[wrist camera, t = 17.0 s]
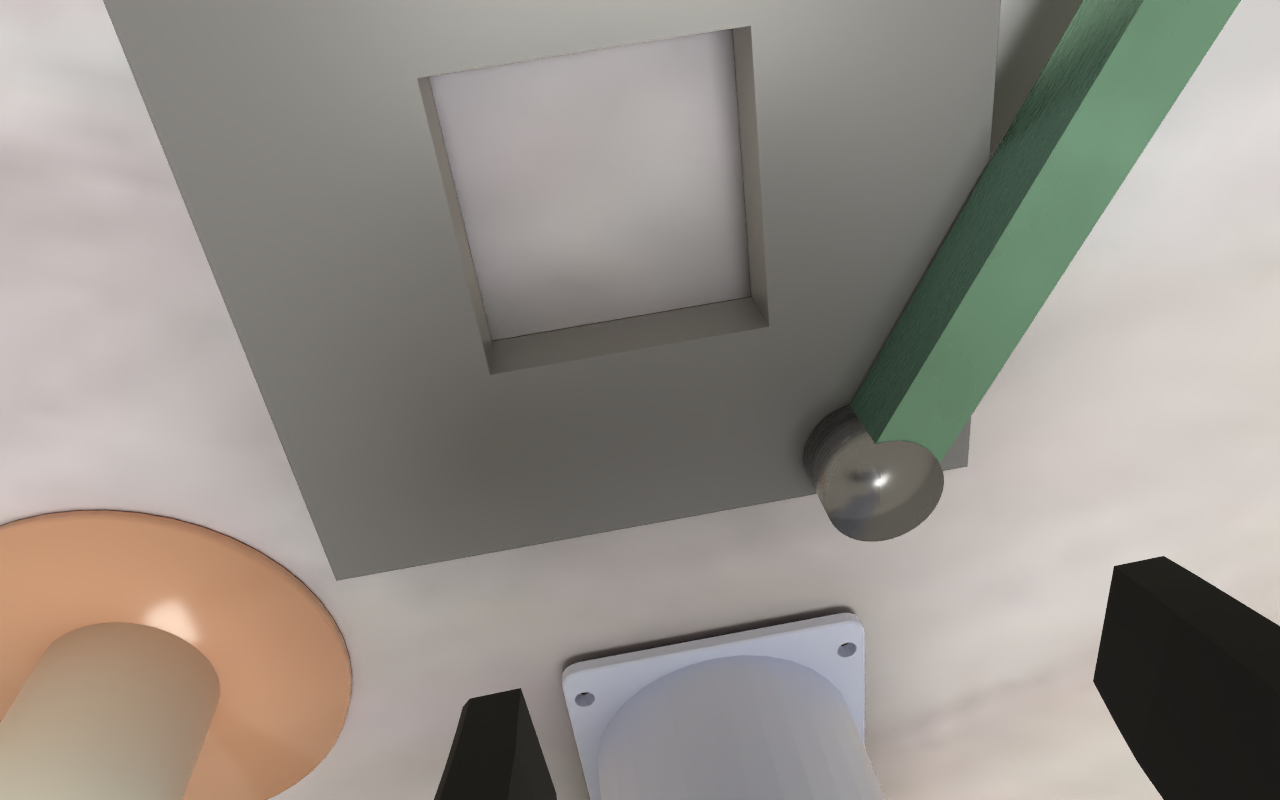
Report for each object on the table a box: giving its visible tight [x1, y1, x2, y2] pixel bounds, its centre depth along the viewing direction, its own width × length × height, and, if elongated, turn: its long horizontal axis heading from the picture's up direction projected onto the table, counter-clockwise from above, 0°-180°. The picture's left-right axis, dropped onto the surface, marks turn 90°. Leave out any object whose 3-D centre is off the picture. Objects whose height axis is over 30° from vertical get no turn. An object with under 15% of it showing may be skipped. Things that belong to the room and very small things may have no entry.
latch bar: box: [803, 0, 1241, 541], centre depth 15 cm, size 18×2×2 cm, turn 158°
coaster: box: [0, 510, 352, 800], centre depth 21 cm, size 10×10×1 cm
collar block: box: [103, 0, 1001, 581], centre depth 16 cm, size 14×14×2 cm
